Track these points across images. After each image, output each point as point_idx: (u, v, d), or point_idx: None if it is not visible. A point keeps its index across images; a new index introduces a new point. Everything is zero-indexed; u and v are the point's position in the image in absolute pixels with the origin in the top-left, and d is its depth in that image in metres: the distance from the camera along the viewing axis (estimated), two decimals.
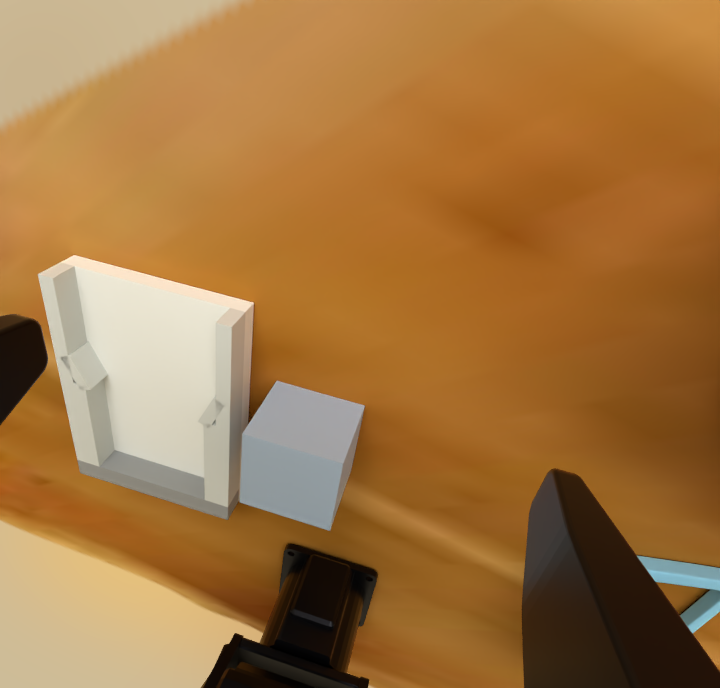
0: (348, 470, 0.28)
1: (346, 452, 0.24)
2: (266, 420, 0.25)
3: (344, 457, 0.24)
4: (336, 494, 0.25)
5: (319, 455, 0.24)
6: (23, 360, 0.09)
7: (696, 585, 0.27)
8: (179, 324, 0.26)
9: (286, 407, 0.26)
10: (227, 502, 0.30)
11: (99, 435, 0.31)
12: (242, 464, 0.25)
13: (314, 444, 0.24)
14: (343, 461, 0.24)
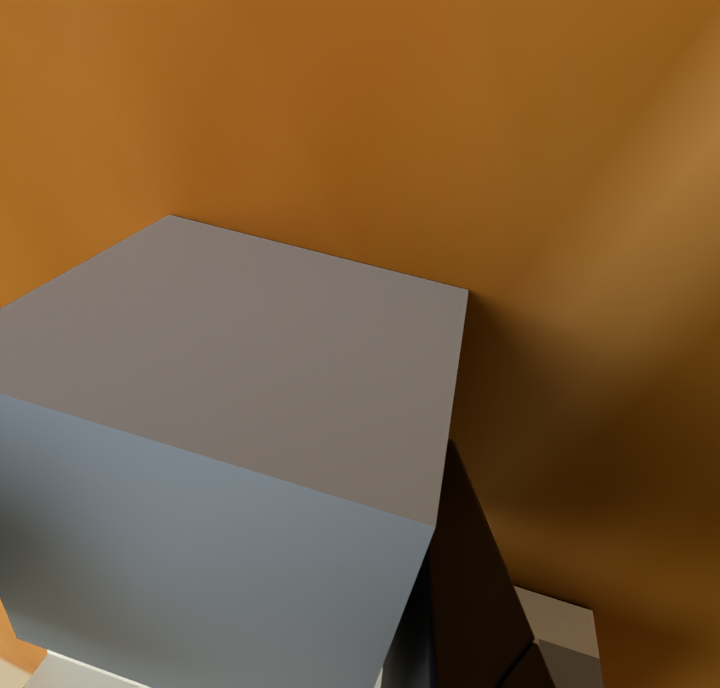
0: (347, 313, 0.07)
1: None
2: None
3: None
4: (124, 430, 0.04)
5: None
6: None
7: None
8: None
9: None
10: None
11: None
12: (147, 684, 0.07)
13: None
14: None
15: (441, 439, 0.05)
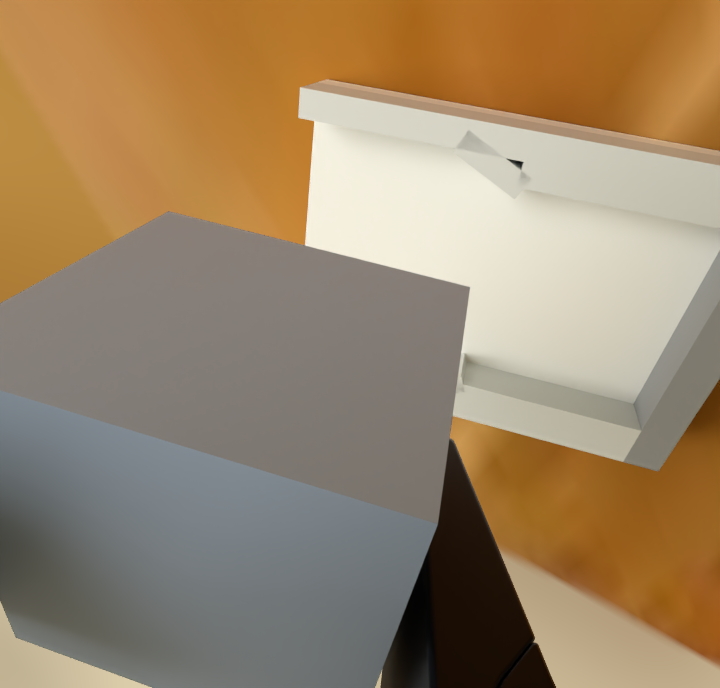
0: (347, 309, 0.07)
1: None
2: None
3: None
4: (123, 427, 0.04)
5: None
6: None
7: None
8: (358, 207, 0.17)
9: None
10: None
11: (570, 405, 0.18)
12: (146, 683, 0.07)
13: None
14: None
15: (443, 436, 0.05)
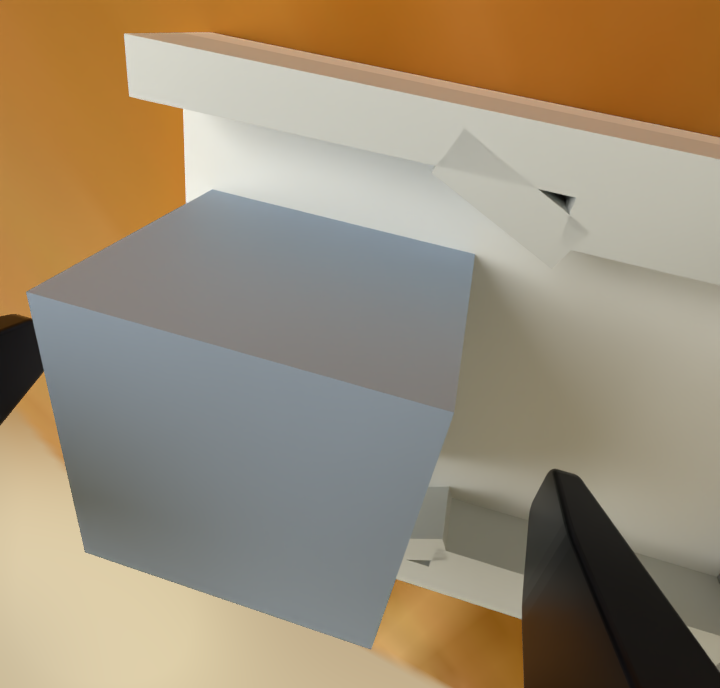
0: (373, 268, 0.08)
1: (74, 269, 0.07)
2: None
3: (54, 281, 0.06)
4: (207, 343, 0.06)
5: (48, 369, 0.07)
6: (23, 360, 0.09)
7: None
8: None
9: None
10: None
11: None
12: (199, 588, 0.08)
13: None
14: (42, 288, 0.06)
15: (456, 358, 0.06)
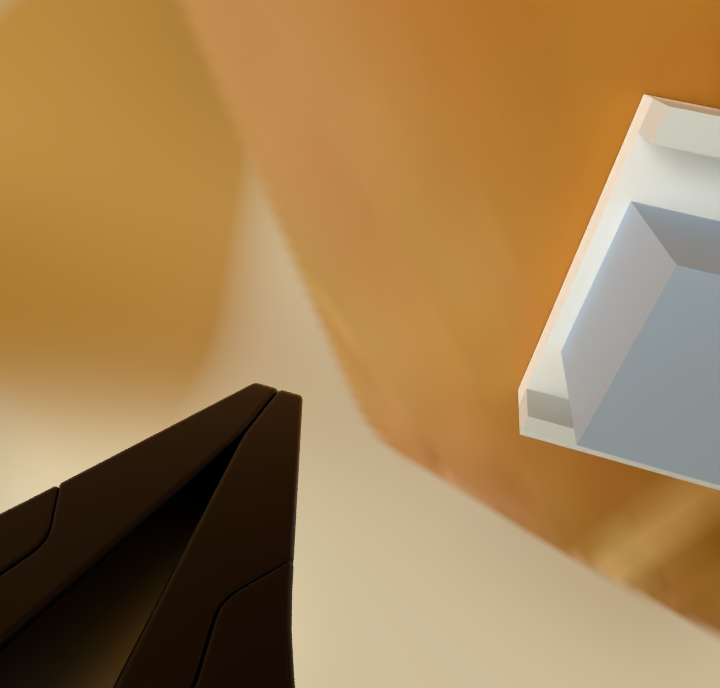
0: None
1: (666, 253, 0.11)
2: (582, 393, 0.14)
3: (670, 259, 0.10)
4: None
5: (647, 314, 0.11)
6: None
7: None
8: None
9: (584, 350, 0.14)
10: None
11: None
12: (663, 467, 0.13)
13: (632, 318, 0.12)
14: (675, 263, 0.10)
15: None
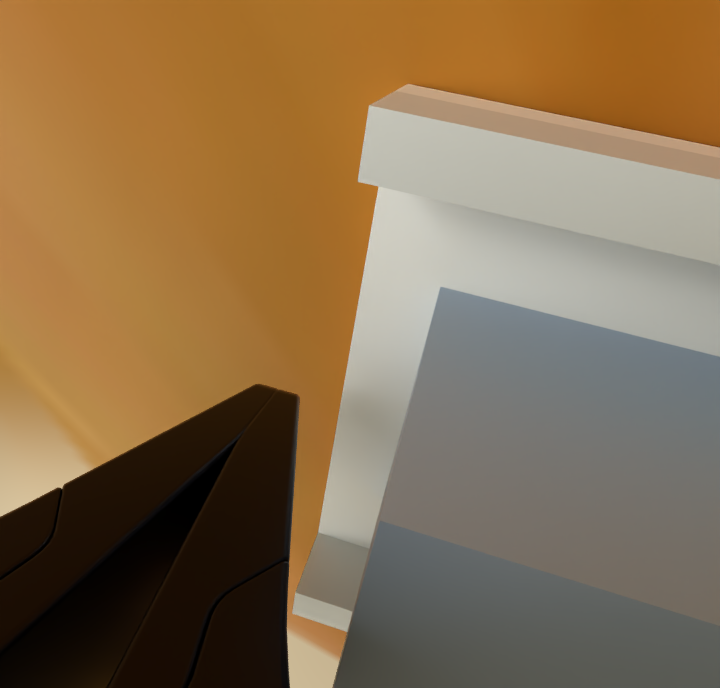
0: (711, 414, 0.06)
1: (397, 458, 0.05)
2: (346, 636, 0.08)
3: (390, 486, 0.04)
4: (660, 606, 0.04)
5: (358, 594, 0.05)
6: None
7: None
8: None
9: None
10: None
11: None
12: None
13: (366, 566, 0.06)
14: (388, 506, 0.04)
15: None
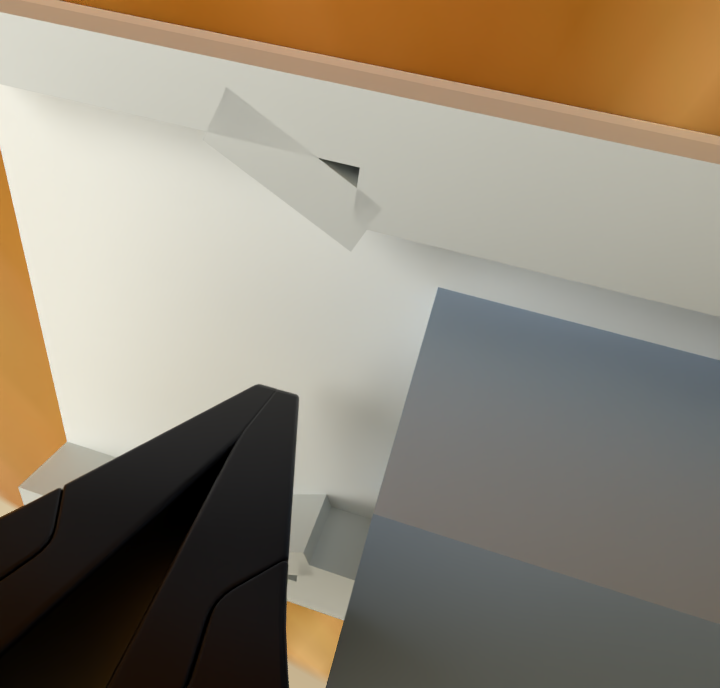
0: (701, 414, 0.06)
1: (392, 454, 0.05)
2: None
3: (384, 481, 0.05)
4: (641, 598, 0.04)
5: None
6: None
7: None
8: (103, 244, 0.09)
9: None
10: None
11: None
12: None
13: None
14: (382, 500, 0.04)
15: None
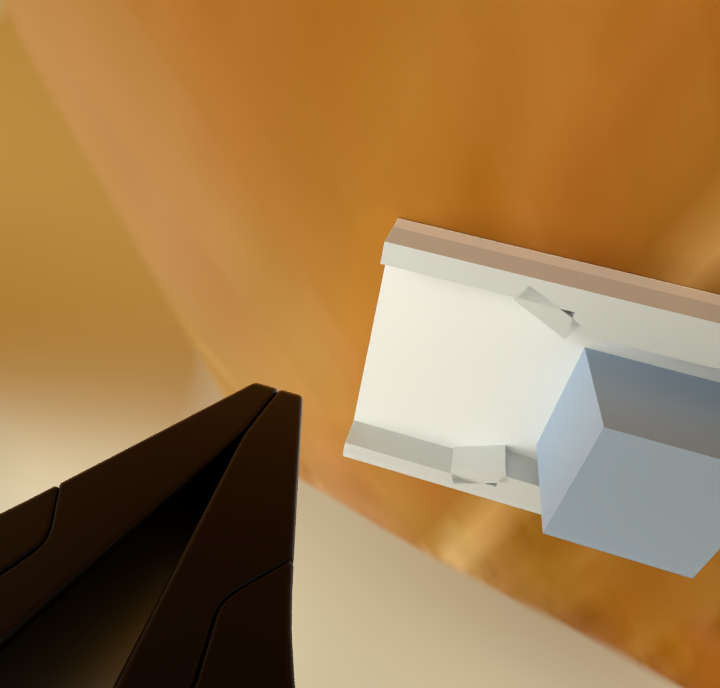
0: (697, 400, 0.17)
1: (600, 412, 0.16)
2: (547, 491, 0.18)
3: (601, 419, 0.15)
4: (681, 448, 0.15)
5: (587, 453, 0.16)
6: None
7: None
8: (420, 324, 0.20)
9: (550, 455, 0.19)
10: None
11: None
12: (604, 550, 0.17)
13: (579, 450, 0.16)
14: (604, 424, 0.15)
15: None
